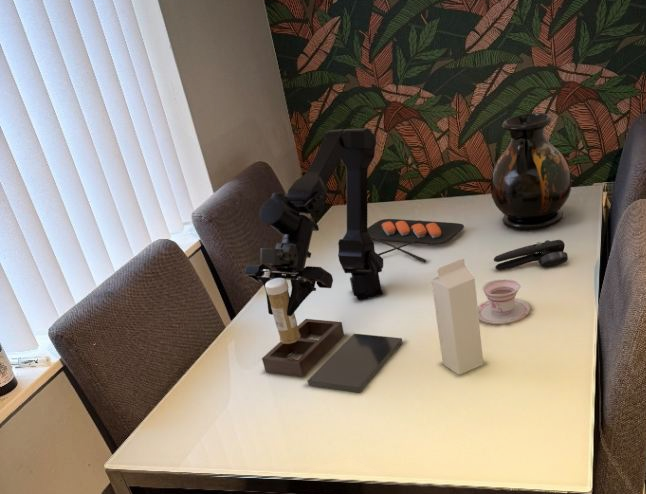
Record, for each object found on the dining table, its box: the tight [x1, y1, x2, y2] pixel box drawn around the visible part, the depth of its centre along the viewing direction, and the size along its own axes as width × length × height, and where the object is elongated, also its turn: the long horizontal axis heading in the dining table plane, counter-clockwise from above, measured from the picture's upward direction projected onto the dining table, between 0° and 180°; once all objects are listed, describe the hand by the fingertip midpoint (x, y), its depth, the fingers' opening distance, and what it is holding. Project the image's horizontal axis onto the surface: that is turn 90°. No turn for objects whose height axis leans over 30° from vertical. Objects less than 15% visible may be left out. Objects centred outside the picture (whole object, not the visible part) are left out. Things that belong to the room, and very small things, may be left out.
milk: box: [430, 258, 484, 376], centre depth 147 cm, size 6×6×22 cm
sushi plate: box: [367, 218, 465, 263], centre depth 211 cm, size 29×30×4 cm
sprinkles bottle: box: [264, 278, 301, 344], centre depth 158 cm, size 5×5×14 cm
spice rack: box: [261, 318, 345, 378], centre depth 166 cm, size 18×10×4 cm, turn 153°
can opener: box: [493, 239, 569, 271], centre depth 186 cm, size 18×7×6 cm, turn 88°
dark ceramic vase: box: [490, 112, 572, 232], centre depth 205 cm, size 22×22×28 cm
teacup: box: [478, 278, 531, 325], centre depth 167 cm, size 12×12×6 cm
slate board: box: [307, 333, 404, 393], centre depth 159 cm, size 20×12×1 cm, turn 153°
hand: (279, 315), depth 157 cm, fingers closed on sprinkles bottle, 4 cm apart
